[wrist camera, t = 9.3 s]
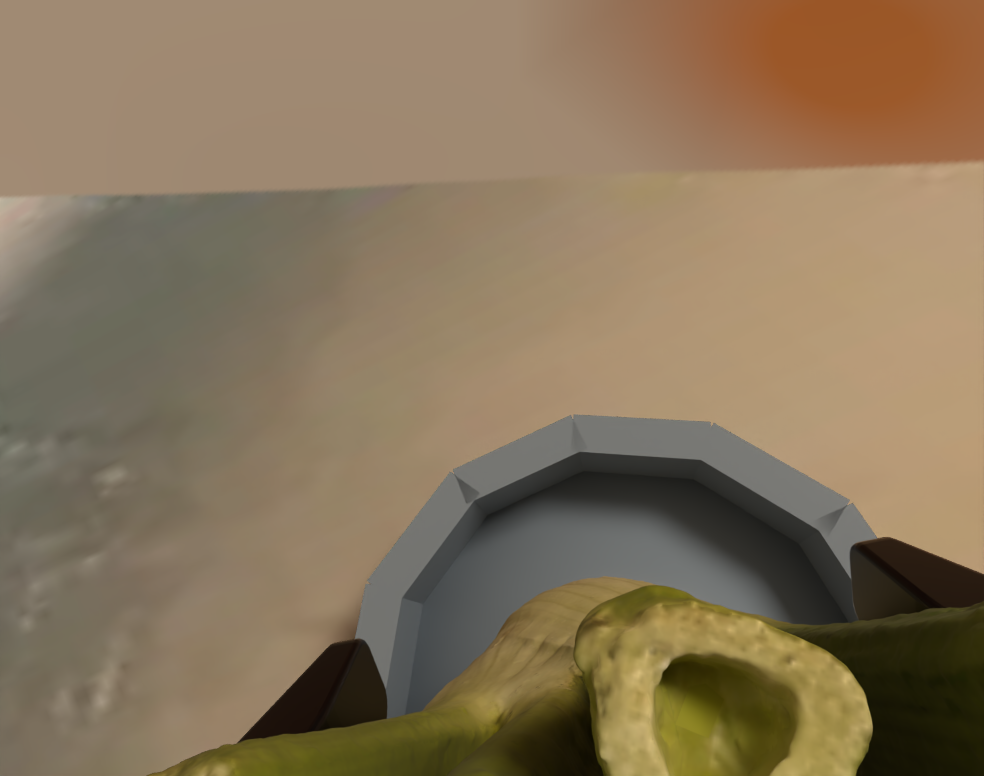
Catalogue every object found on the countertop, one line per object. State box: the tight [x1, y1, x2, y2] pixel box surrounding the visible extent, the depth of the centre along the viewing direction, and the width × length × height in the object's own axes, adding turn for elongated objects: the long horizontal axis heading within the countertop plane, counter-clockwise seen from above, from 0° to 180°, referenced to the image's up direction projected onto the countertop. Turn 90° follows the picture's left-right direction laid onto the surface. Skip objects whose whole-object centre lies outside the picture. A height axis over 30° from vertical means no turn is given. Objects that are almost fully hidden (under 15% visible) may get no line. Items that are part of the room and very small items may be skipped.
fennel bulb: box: [147, 576, 984, 776], centre depth 8 cm, size 6×5×12 cm
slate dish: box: [355, 415, 877, 719], centre depth 15 cm, size 13×13×3 cm
